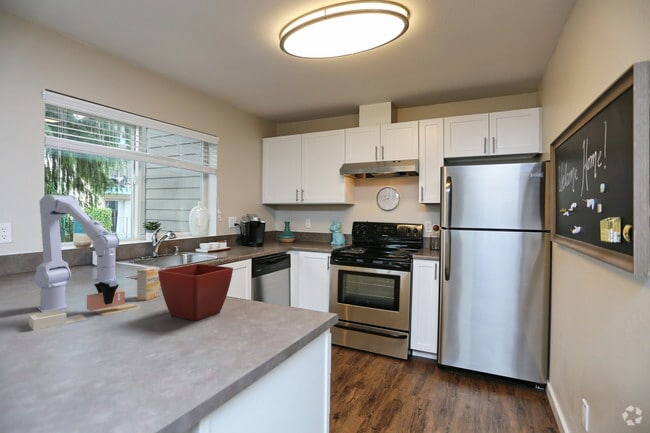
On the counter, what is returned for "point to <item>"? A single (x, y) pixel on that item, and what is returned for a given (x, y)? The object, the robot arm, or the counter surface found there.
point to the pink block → (98, 300)
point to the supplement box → (148, 283)
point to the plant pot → (195, 289)
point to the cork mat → (117, 309)
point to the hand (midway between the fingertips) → (106, 302)
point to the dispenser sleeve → (53, 319)
